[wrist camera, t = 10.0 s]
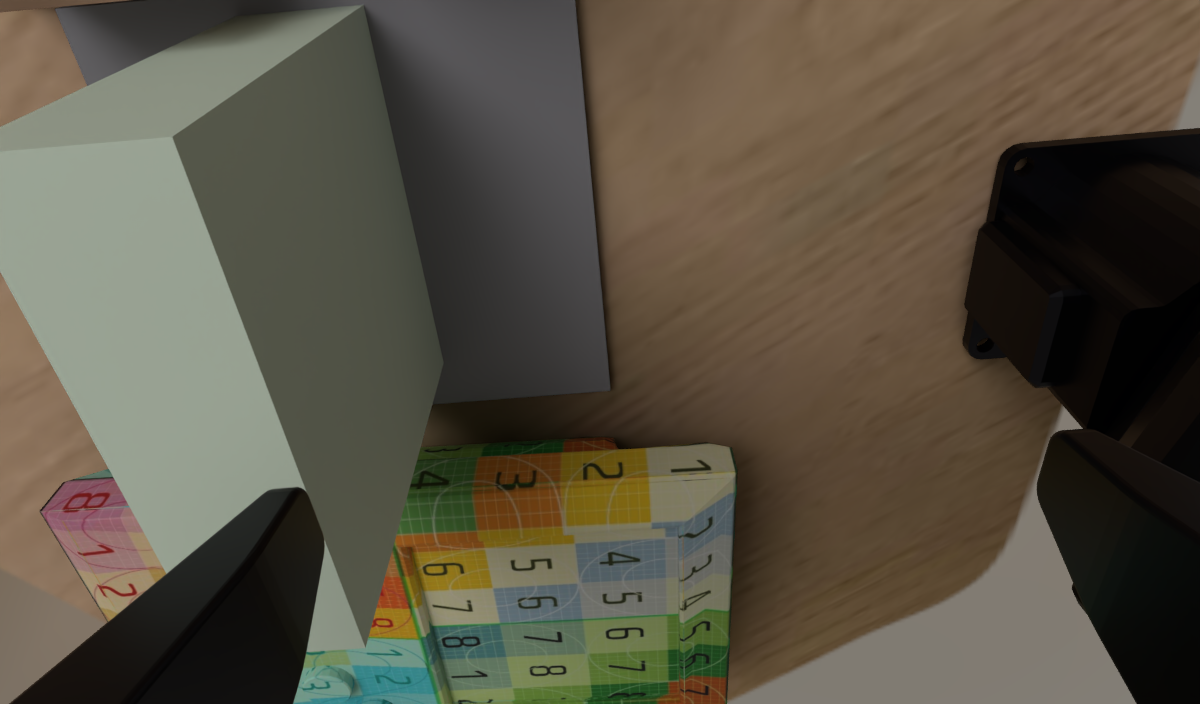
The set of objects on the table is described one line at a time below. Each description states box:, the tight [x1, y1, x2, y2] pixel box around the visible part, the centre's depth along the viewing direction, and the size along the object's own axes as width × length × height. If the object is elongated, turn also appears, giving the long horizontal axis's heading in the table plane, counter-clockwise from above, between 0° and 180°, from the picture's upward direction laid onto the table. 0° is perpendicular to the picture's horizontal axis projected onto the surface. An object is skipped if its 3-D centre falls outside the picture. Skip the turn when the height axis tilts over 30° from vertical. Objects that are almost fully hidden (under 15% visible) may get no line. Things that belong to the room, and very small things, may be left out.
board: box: [0, 5, 444, 652], centre depth 17 cm, size 3×10×10 cm, turn 4°
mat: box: [55, 0, 610, 404], centre depth 21 cm, size 12×12×1 cm
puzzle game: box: [39, 437, 738, 704], centre depth 27 cm, size 12×5×20 cm
